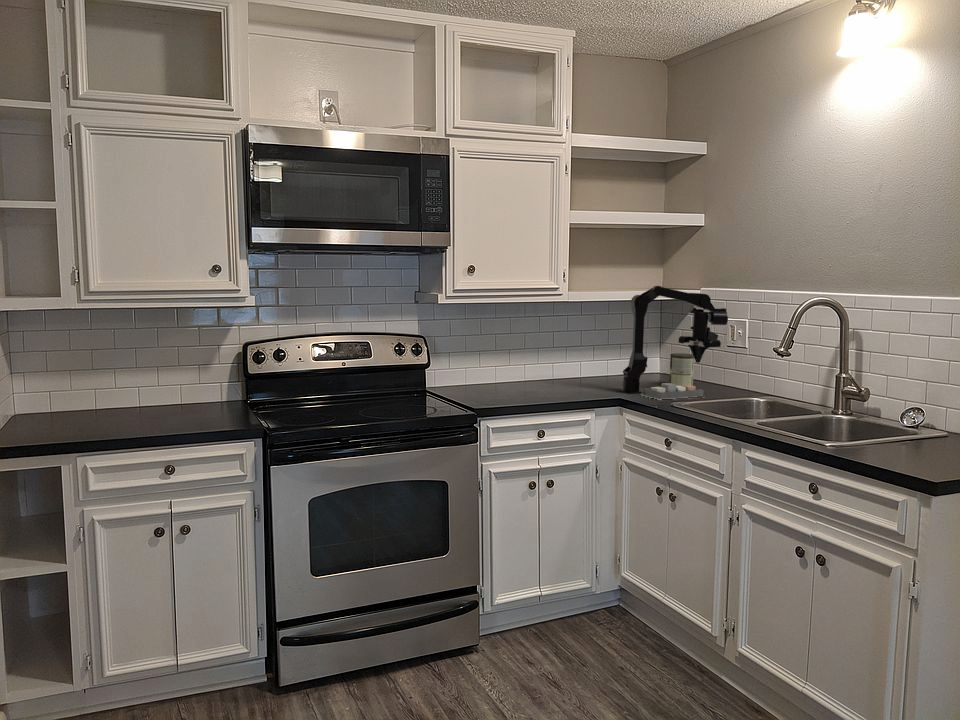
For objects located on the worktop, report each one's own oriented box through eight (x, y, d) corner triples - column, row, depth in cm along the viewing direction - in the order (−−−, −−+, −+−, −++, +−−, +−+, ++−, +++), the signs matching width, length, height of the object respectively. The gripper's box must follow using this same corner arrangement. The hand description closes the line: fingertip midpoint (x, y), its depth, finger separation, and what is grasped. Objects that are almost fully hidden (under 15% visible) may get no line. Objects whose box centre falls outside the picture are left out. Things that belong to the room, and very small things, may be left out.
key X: (660, 390, 313) (661, 383, 313) (668, 390, 315) (669, 383, 314) (667, 392, 309) (668, 385, 309) (675, 392, 311) (675, 384, 311)
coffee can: (663, 385, 345) (665, 353, 343) (684, 384, 348) (686, 353, 346) (676, 388, 335) (678, 356, 333) (697, 388, 338) (699, 355, 336)
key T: (680, 392, 318) (681, 385, 318) (688, 392, 320) (688, 385, 319) (687, 394, 314) (688, 386, 314) (695, 393, 316) (695, 386, 316)
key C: (670, 393, 316) (671, 386, 315) (678, 392, 317) (678, 385, 317) (677, 395, 312) (678, 387, 312) (685, 394, 314) (685, 387, 314)
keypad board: (640, 395, 313) (640, 388, 313) (686, 393, 324) (686, 385, 324) (658, 400, 303) (659, 392, 303) (705, 397, 314) (705, 389, 314)
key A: (650, 394, 311) (650, 387, 310) (658, 394, 313) (658, 386, 312) (657, 396, 307) (657, 388, 307) (665, 395, 309) (665, 388, 309)
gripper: (732, 326, 314) (729, 364, 316) (699, 322, 330) (696, 359, 332) (711, 326, 309) (708, 365, 311) (678, 322, 325) (676, 360, 327)
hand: (697, 362), depth 320 cm, fingers closed
